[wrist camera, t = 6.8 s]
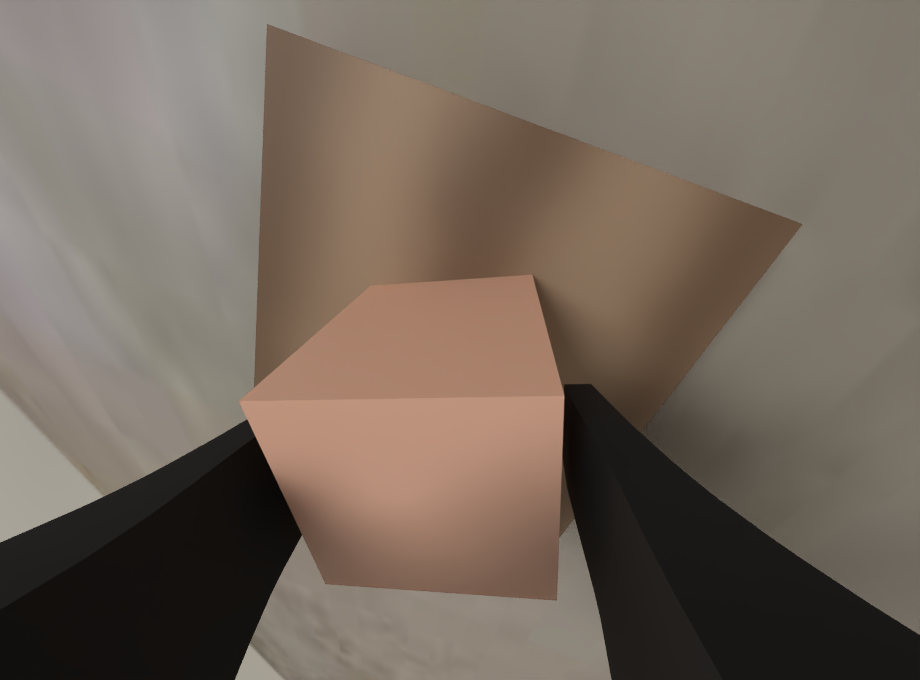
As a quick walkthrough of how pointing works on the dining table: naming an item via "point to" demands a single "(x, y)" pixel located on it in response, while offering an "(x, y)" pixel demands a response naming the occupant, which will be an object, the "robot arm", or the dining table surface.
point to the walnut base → (490, 225)
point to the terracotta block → (423, 440)
